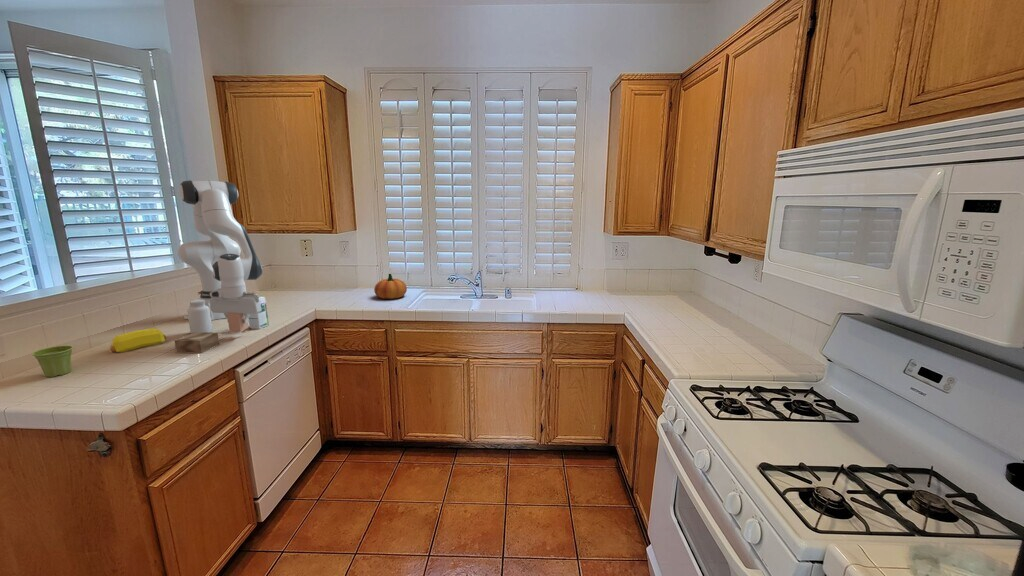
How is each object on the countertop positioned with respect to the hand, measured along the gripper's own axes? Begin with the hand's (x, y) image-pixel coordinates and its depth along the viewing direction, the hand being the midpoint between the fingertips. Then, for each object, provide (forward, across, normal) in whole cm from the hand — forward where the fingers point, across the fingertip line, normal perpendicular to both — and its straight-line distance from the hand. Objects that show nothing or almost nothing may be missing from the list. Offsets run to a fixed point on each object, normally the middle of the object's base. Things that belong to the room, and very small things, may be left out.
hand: (238, 322), depth 180 cm
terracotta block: (+3, 0, 0) cm, 3 cm away
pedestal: (+7, +7, +14) cm, 18 cm away
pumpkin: (+7, -43, -79) cm, 90 cm away
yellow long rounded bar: (+7, +32, +14) cm, 36 cm away
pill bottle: (+7, +20, -4) cm, 22 cm away
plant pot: (+7, +36, +40) cm, 55 cm away
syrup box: (+7, 0, -15) cm, 16 cm away
